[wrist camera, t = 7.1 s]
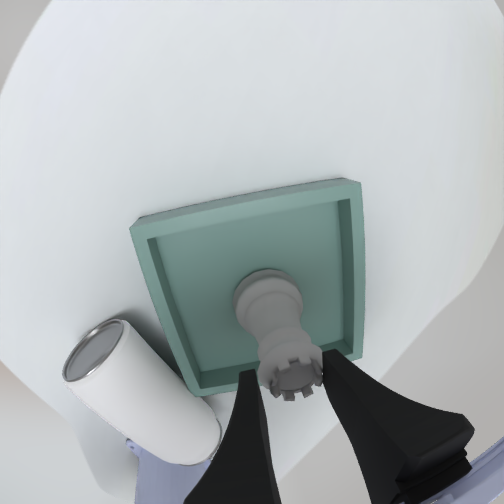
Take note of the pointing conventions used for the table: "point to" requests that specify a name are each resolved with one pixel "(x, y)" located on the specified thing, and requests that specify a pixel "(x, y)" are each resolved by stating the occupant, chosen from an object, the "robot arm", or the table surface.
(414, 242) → the table surface
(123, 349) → the can
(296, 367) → the rook chess piece
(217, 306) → the tray
